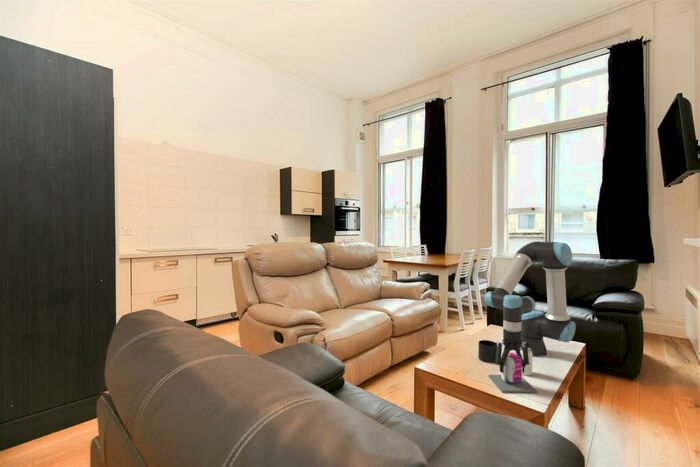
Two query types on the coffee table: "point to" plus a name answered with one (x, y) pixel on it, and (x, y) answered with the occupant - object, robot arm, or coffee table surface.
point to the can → (529, 367)
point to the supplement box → (513, 368)
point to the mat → (512, 385)
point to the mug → (487, 351)
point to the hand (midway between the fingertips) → (511, 379)
